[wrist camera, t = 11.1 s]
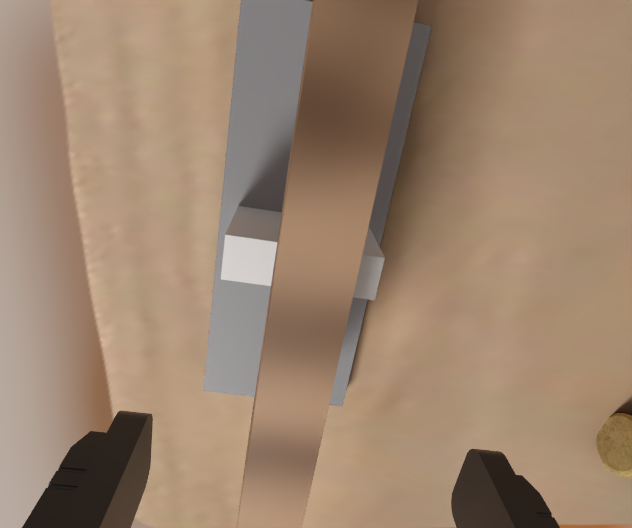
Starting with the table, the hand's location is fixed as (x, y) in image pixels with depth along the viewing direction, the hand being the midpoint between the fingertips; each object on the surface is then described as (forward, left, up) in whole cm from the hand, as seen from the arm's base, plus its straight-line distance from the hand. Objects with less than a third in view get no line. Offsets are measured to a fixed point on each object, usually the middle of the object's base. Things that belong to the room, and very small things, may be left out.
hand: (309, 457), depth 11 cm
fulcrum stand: (0, 0, -19) cm, 19 cm away
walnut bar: (0, 0, -12) cm, 12 cm away
